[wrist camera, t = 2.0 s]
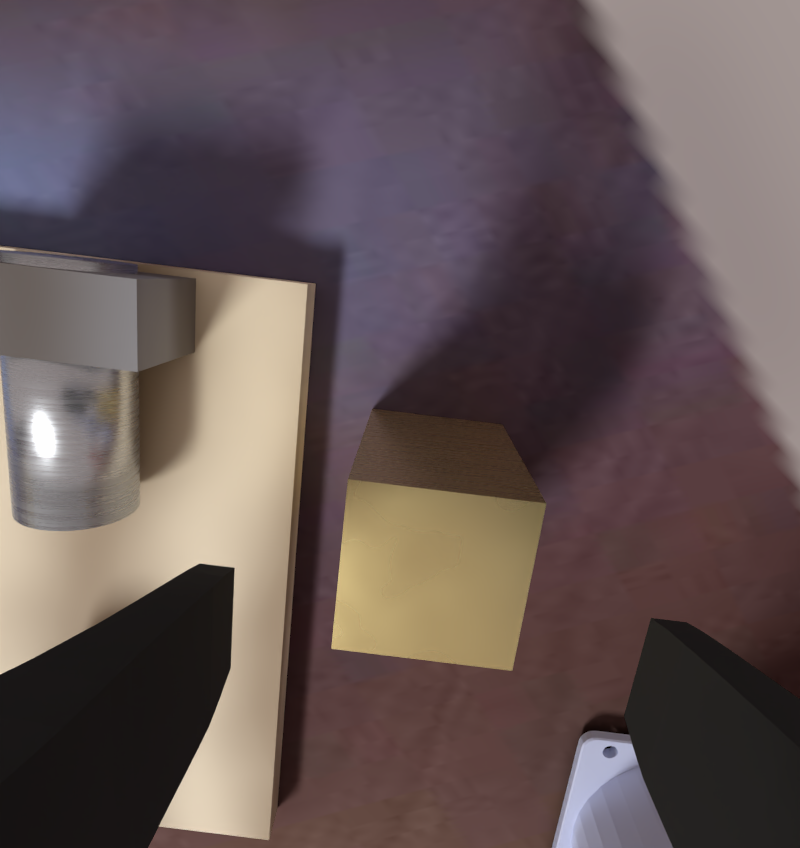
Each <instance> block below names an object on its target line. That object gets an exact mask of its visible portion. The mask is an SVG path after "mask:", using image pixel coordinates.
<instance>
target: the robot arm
mask: <svg viewBox="0 0 800 848" xmlns="http://www.w3.org/2000/svg"><path fill="white" fill-rule="evenodd" d="M234 572H235V568H233V567H225V566H216V565H208V564H198V565H196V566H194V567H192V568H190V569H188V570H187V571H185V572H183V573H182V574H180V575H178V576H176V577H175V578H173V579H172V580H170V581H168V582H167V583H165V584H163V585H162V586H160V587H158V588H157V589H155V590H153V591H152V592H150V593H148V594H147V595H145V596H143V597H142V598H140V599H138V600H137V601H135V602H133V603H132V604H130V605H128V606H127V607H125V608H123V609H122V610H120V611H118V612H116V613H115V614H113V615H111V616H110V617H108V618H106V619H105V620H103V621H101V622H99V623H98V624H96V625H94V626H92V627H90V628H88V629H87V630H85V631H83V632H81V633H79V634H77V635H75V636H74V637H72V638H70V639H68V640H66V641H64V642H62V643H61V644H59V645H57V646H55V647H53V648H51V649H49V650H48V651H46V652H44V653H42V654H40V655H38V656H36V657H35V658H33V659H31V660H29V661H27V662H25V663H23V664H21V665H19V666H17V667H15V668H13V669H11V670H8V671H6V672H4V673H2V674H0V848H148V846H149V844H150V842H151V841H152V839H153V837H154V835H155V833H156V831H157V829H158V827H159V825H160V823H161V821H162V819H163V817H164V815H165V813H166V811H167V809H168V807H169V805H170V803H171V801H172V799H173V797H174V795H175V793H176V791H177V789H178V788H179V786H180V784H181V782H182V780H183V778H184V776H185V774H186V772H187V770H188V768H189V766H190V764H191V762H192V760H193V758H194V756H195V754H196V752H197V750H198V748H199V746H200V744H201V742H202V740H203V738H204V736H205V734H206V732H207V730H208V728H209V726H210V723H211V720H212V718H213V715H214V713H215V710H216V707H217V705H218V702H219V699H220V697H221V694H222V691H223V688H224V685H225V683H226V680H227V677H228V674H229V672H230V669H231V648H232V623H233V598H234ZM624 717H625V720H626V724H627V727H628V731H629V735H627V734H619V733H611V732H603V731H588V732H586V733H584V734H583V735H582V736H581V737H580V739H579V742H578V746H577V750H576V754H575V758H574V762H573V766H572V770H571V774H570V777H569V781H568V785H567V789H566V793H565V797H564V801H563V805H562V809H561V813H560V817H559V821H558V825H557V829H556V833H555V837H554V841H553V845H552V848H800V699H799V698H797V697H796V696H795V695H793V694H792V693H790V692H789V691H787V690H786V689H785V688H783V687H782V686H780V685H779V684H777V683H776V682H775V681H773V680H772V679H770V678H769V677H768V676H766V675H765V674H763V673H762V672H760V671H759V670H758V669H756V668H755V667H753V666H752V665H751V664H749V663H748V662H746V661H745V660H743V659H742V658H741V657H739V656H738V655H736V654H735V653H733V652H732V651H731V650H729V649H728V648H726V647H725V646H723V645H722V644H720V643H719V642H717V641H716V640H714V639H713V638H711V637H710V636H708V635H707V634H705V633H704V632H702V631H700V630H699V629H697V628H695V627H694V626H692V625H690V624H688V623H687V622H679V621H670V620H662V619H654V618H651V620H650V624H649V628H648V631H647V635H646V639H645V642H644V646H643V649H642V653H641V657H640V660H639V664H638V668H637V671H636V675H635V678H634V682H633V686H632V689H631V693H630V697H629V700H628V704H627V707H626V711H625V715H624ZM607 746H612V747H611V748H608V749H604V748H606V747H607Z"/></svg>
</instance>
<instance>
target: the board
mask: <svg viewBox="0 0 800 848" xmlns="http://www.w3.org/2000/svg"><path fill="white" fill-rule="evenodd" d="M0 250H10V251H23V252H35V253H46V254H57V255H67V256H77V257H86V258H95V259H103V260H111V261H119V262H126V263H132V264H137V265H138V273H137V274H121V273H103V272H90V271H78V270H66V269H56V268H46V267H37V266H28V265H20V264H13V263H6V262H0V355H2V356H10V357H18V358H27V359H35V360H43V361H51V362H60V363H68V364H76V365H84V366H92V367H101V368H109V369H117V370H125V371H134V372H139V438H140V505H139V507H138V508H137V510H136V511H135V512H133V513H132V514H131V515H129V516H127V517H126V518H124V519H121V520H119V521H117V522H114V523H111V524H108V525H104V526H100V527H96V528H90V529H84V530H75V531H46V530H38V529H33V528H29V527H26V526H23V525H21V524H19V523H18V522H16V521H15V520H14V518H13V516H12V509H11V496H10V484H9V471H8V458H7V445H6V432H5V419H4V407H3V394H2V381H1V368H0V674H2V673H4V672H6V671H8V670H11V669H13V668H15V667H17V666H19V665H21V664H23V663H25V662H27V661H29V660H31V659H33V658H35V657H36V656H38V655H40V654H42V653H44V652H46V651H48V650H49V649H51V648H53V647H55V646H57V645H59V644H61V643H62V642H64V641H66V640H68V639H70V638H72V637H74V636H75V635H77V634H79V633H81V632H83V631H85V630H87V629H88V628H90V627H92V626H94V625H96V624H98V623H99V622H101V621H103V620H105V619H106V618H108V617H110V616H111V615H113V614H115V613H116V612H118V611H120V610H122V609H123V608H125V607H127V606H128V605H130V604H132V603H133V602H135V601H137V600H138V599H140V598H142V597H143V596H145V595H147V594H148V593H150V592H152V591H153V590H155V589H157V588H158V587H160V586H162V585H163V584H165V583H167V582H168V581H170V580H172V579H173V578H175V577H176V576H178V575H180V574H182V573H183V572H185V571H187V570H188V569H190V568H192V567H194V566H196V565H198V564H208V565H216V566H225V567H233V568H235V572H234V598H233V623H232V648H231V669H230V672H229V674H228V677H227V680H226V683H225V685H224V688H223V691H222V694H221V697H220V699H219V702H218V705H217V707H216V710H215V713H214V715H213V718H212V720H211V723H210V726H209V728H208V730H207V732H206V734H205V736H204V738H203V740H202V742H201V744H200V746H199V748H198V750H197V752H196V754H195V756H194V758H193V760H192V762H191V764H190V766H189V768H188V770H187V772H186V774H185V776H184V778H183V780H182V782H181V784H180V786H179V788H178V789H177V791H176V793H175V795H174V797H173V799H172V801H171V803H170V805H169V807H168V809H167V811H166V813H165V815H164V817H163V819H162V821H161V823H160V825H159V826H160V827H168V828H176V829H184V830H192V831H200V832H209V833H217V834H225V835H233V836H241V837H249V838H257V839H265V840H269V838H270V835H271V831H272V827H273V823H274V820H275V816H276V812H277V807H278V793H279V780H280V766H281V752H282V739H283V725H284V711H285V698H286V684H287V670H288V657H289V643H290V629H291V616H292V602H293V588H294V575H295V561H296V547H297V534H298V520H299V506H300V493H301V479H302V465H303V452H304V438H305V424H306V411H307V397H308V383H309V369H310V356H311V342H312V328H313V315H314V301H315V287H316V284H315V283H307V282H299V281H290V280H282V279H274V278H266V277H257V276H249V275H241V274H233V273H224V272H216V271H208V270H199V269H191V268H183V267H175V266H166V265H158V264H150V263H141V262H133V261H125V260H117V259H108V258H100V257H92V256H83V255H75V254H67V253H59V252H50V251H42V250H34V249H26V248H17V247H9V246H1V245H0Z"/></svg>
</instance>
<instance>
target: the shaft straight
mask: <svg viewBox="0 0 800 848" xmlns="http://www.w3.org/2000/svg"><path fill="white" fill-rule="evenodd" d="M0 262H6V263H13V264H20V265H28V266H37V267H46V268H56V269H66V270H78V271H90V272H103V273H121V274H137V273H138V265H137V264H132V263H126V262H119V261H111V260H103V259H95V258H86V257H77V256H67V255H57V254H46V253H35V252H23V251H10V250H0ZM0 368H1V381H2V394H3V407H4V419H5V432H6V445H7V458H8V471H9V484H10V496H11V509H12V516H13V518H14V520H15V521H16V522H18V523H19V524H21V525H23V526H26V527H29V528H33V529H38V530H46V531H75V530H84V529H90V528H96V527H100V526H104V525H108V524H111V523H114V522H117V521H119V520H121V519H124V518H126V517H127V516H129V515H131V514H132V513H133V512H135V511H136V510H137V508H138V507H139V505H140V438H139V372H134V371H125V370H117V369H109V368H101V367H92V366H84V365H76V364H68V363H60V362H51V361H43V360H35V359H27V358H18V357H10V356H2V355H0Z"/></svg>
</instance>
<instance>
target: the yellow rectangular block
mask: <svg viewBox="0 0 800 848" xmlns="http://www.w3.org/2000/svg"><path fill="white" fill-rule="evenodd" d="M545 507H546V502H545V500H544V499H543V497H542V495H541V493H540V491H539V490H538V488H537V486H536V484H535V482H534V481H533V479H532V477H531V475H530V473H529V472H528V470H527V468H526V466H525V464H524V463H523V461H522V459H521V457H520V455H519V454H518V452H517V450H516V448H515V446H514V445H513V443H512V441H511V439H510V437H509V436H508V434H507V432H506V430H505V428H504V427H503V425H502V424H494V423H486V422H477V421H469V420H461V419H453V418H445V417H437V416H428V415H420V414H412V413H404V412H396V411H388V410H379V409H372V411H371V414H370V417H369V420H368V423H367V426H366V429H365V432H364V435H363V437H362V440H361V443H360V446H359V449H358V452H357V455H356V458H355V461H354V463H353V466H352V469H351V472H350V475H349V478H348V485H347V495H346V505H345V515H344V525H343V536H342V546H341V556H340V566H339V576H338V586H337V597H336V607H335V617H334V627H333V637H332V648H331V649H338V650H347V651H355V652H363V653H371V654H379V655H387V656H396V657H404V658H412V659H420V660H428V661H436V662H445V663H453V664H461V665H469V666H477V667H485V668H494V669H502V670H510V671H512V669H513V664H514V659H515V654H516V649H517V645H518V640H519V635H520V630H521V625H522V620H523V615H524V610H525V605H526V600H527V595H528V591H529V586H530V581H531V576H532V571H533V566H534V561H535V556H536V551H537V546H538V542H539V537H540V532H541V527H542V522H543V517H544V512H545Z"/></svg>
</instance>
